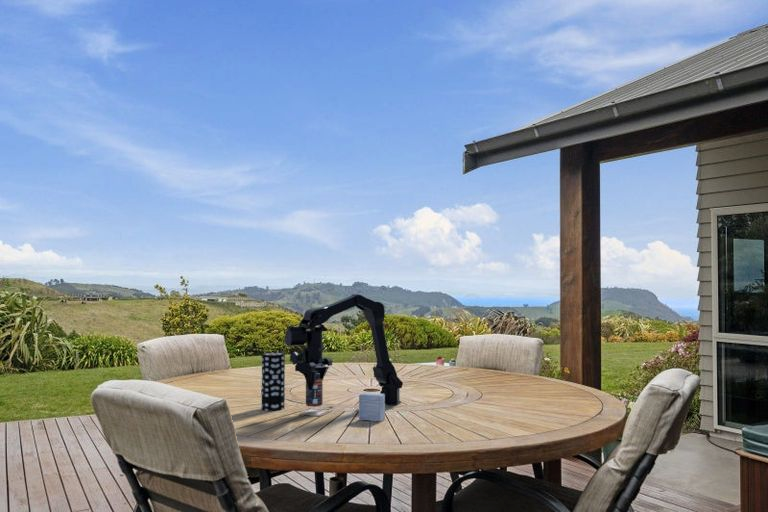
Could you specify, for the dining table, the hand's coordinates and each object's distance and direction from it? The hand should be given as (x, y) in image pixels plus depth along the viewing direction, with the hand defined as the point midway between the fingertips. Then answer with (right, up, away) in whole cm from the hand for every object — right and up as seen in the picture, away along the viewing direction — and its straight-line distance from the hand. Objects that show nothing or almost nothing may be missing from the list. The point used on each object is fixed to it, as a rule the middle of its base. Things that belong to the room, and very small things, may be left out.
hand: (314, 388), depth 217 cm
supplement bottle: (0, -6, 0) cm, 6 cm away
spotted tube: (-16, -9, +8) cm, 20 cm away
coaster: (0, -9, -1) cm, 9 cm away
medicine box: (+21, -9, -11) cm, 25 cm away
